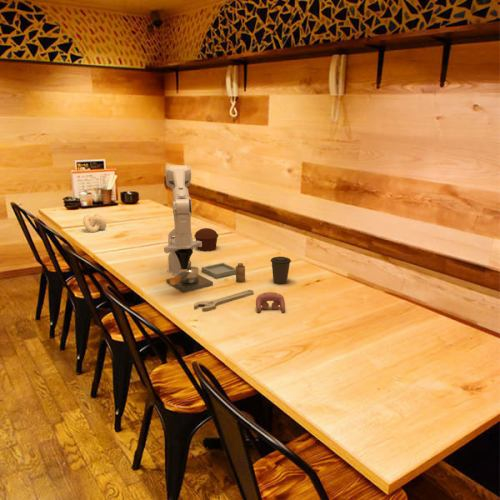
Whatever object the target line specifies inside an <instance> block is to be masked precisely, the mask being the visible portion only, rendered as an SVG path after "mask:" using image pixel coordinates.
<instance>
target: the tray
mask: <svg viewBox="0 0 500 500" xmlns="http://www.w3.org/2000/svg"><path fill="white" fill-rule="evenodd" d="M201 273H203V274H205V275H207V276H209V277H211V278H213V279H215V280H218V279H219V280H220V279H223V278H227V277H230V276H236V267H234V266H231V265H230V264H227V263H225V262H220V263H216V264H209V265H207V266H206V265H205V266H202V267H201Z"/></svg>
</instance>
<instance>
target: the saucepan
mask: <svg viewBox="0 0 500 500" xmlns="http://www.w3.org/2000/svg"><path fill="white" fill-rule="evenodd" d="M198 275H199V268H198V267H196V266H192V261H191V260H190V261H189V262H188V266H187V269H182V268H181V269H180V274H178V275H177V276H175V275H174V277H171V278H172V279H170V278H169V279H170V284H171V285H175V284H177V283H178V282H180V281H181V282H183V283H195V282H197V281H198V280H199V278H198ZM171 285H170V286H171Z"/></svg>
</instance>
